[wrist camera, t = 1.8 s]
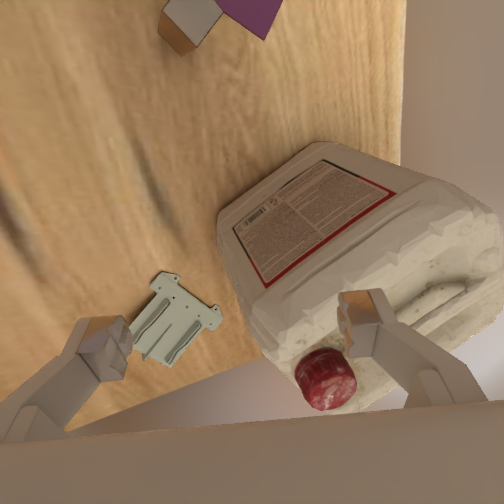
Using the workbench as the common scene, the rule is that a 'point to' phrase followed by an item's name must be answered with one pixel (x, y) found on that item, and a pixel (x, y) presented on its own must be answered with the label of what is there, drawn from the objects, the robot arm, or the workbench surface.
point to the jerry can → (357, 264)
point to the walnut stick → (187, 23)
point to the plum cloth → (252, 13)
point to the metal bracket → (171, 321)
